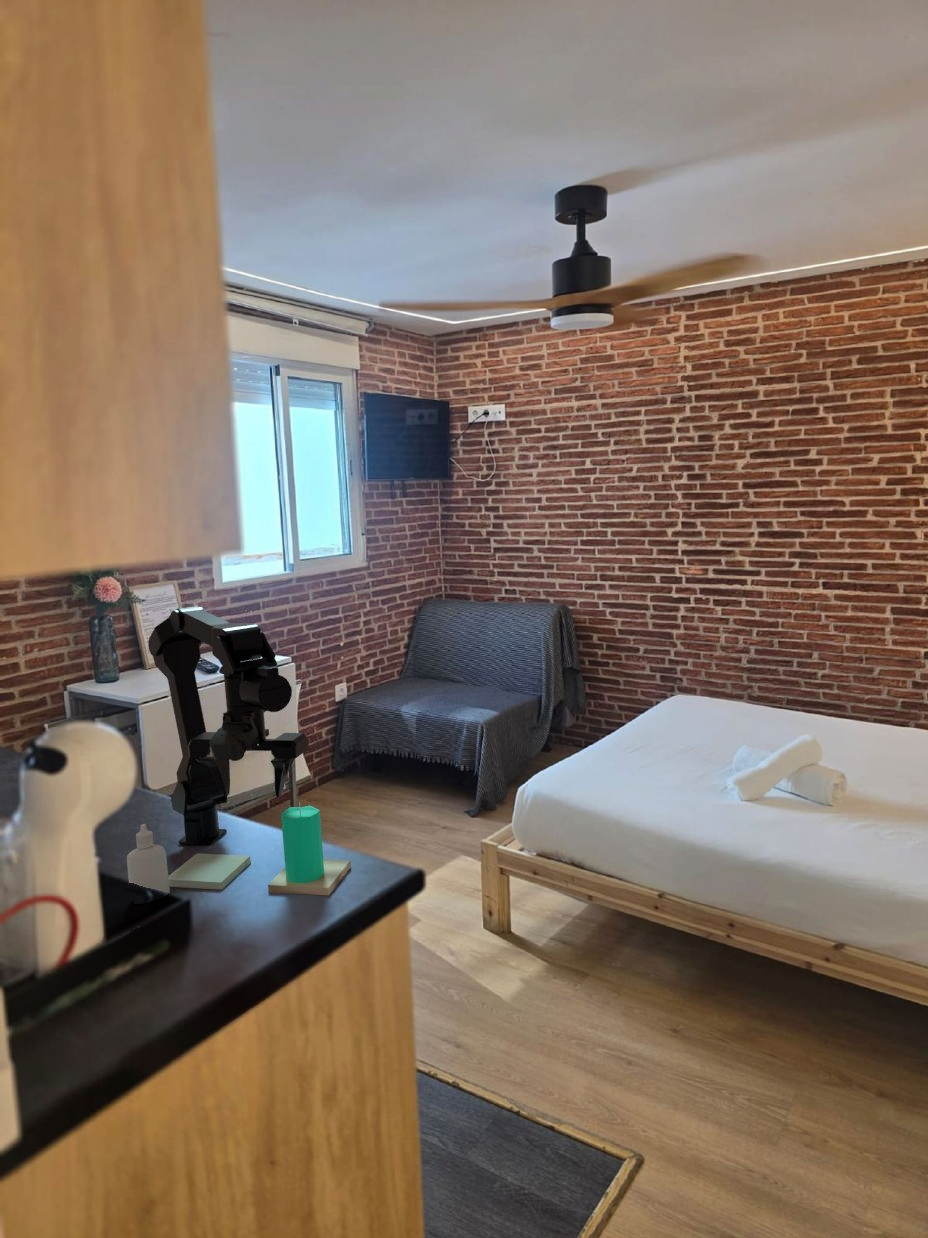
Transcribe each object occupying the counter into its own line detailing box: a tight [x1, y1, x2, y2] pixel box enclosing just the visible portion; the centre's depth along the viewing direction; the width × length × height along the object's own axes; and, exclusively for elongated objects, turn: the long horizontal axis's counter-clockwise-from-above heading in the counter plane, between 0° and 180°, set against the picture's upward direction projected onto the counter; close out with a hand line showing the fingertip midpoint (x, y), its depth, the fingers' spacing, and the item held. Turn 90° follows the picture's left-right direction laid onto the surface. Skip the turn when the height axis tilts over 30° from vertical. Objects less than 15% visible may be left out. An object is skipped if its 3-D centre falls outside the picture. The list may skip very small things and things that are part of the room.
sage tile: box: [168, 853, 251, 891], centre depth 136 cm, size 10×10×1 cm
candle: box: [280, 802, 324, 883], centre depth 130 cm, size 6×6×12 cm
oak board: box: [267, 858, 352, 896], centre depth 132 cm, size 10×10×1 cm
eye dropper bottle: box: [126, 823, 171, 894], centre depth 127 cm, size 4×6×12 cm
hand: (252, 795), depth 134 cm, fingers open, 9 cm apart
